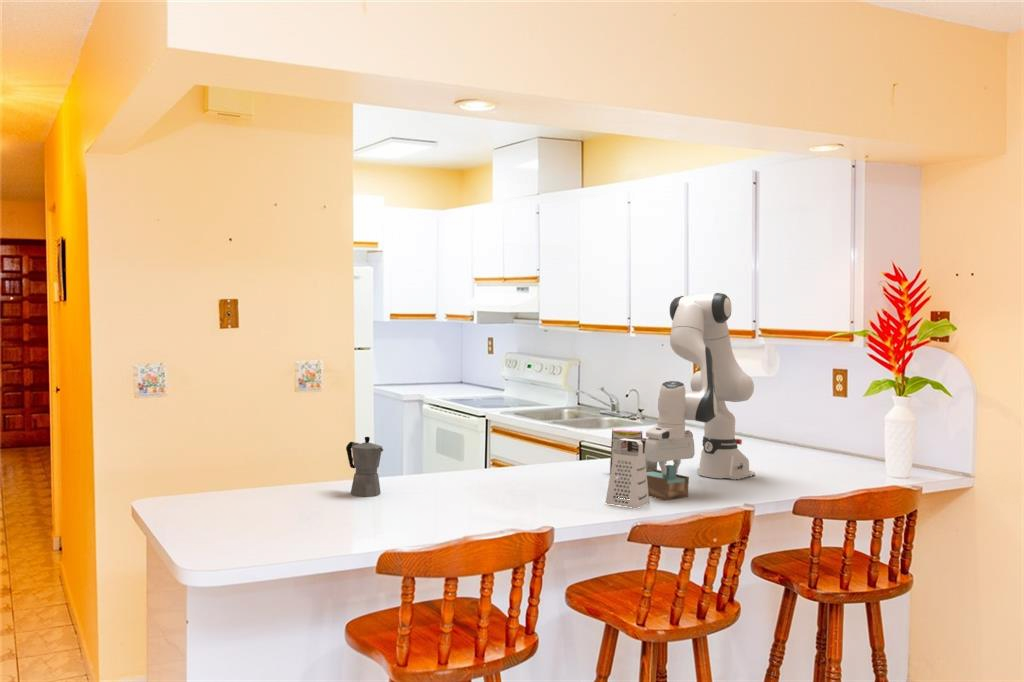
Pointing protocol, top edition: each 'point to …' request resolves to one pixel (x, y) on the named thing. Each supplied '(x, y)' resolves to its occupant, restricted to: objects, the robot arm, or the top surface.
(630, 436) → the candy bar box
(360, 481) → the coffeepot
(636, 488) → the grater
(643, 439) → the coffee box
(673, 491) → the walnut box
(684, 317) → the robot arm
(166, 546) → the top surface
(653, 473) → the cover plate
